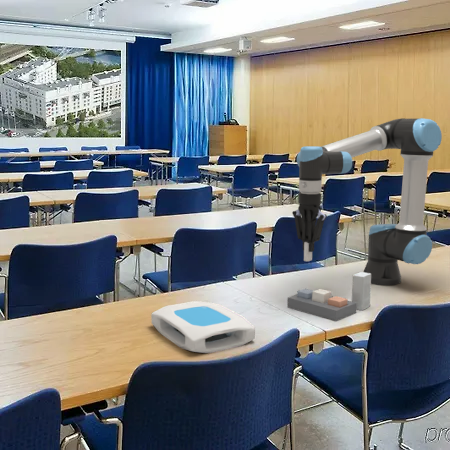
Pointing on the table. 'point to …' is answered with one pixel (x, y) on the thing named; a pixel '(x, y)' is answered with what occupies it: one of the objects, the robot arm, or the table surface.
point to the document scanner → (202, 326)
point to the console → (321, 308)
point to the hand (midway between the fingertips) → (307, 260)
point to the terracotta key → (337, 301)
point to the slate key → (305, 293)
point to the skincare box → (361, 290)
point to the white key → (321, 295)
